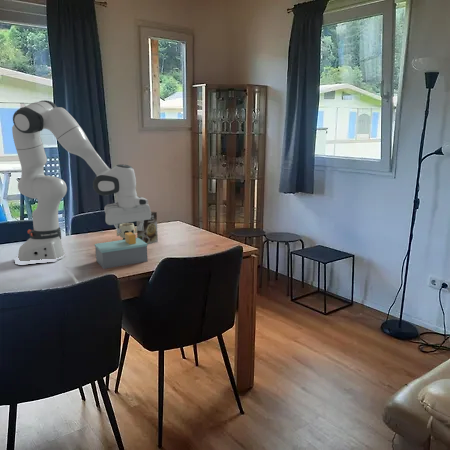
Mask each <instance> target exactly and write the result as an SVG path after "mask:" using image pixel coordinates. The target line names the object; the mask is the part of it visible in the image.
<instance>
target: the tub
mask: <svg viewBox="0 0 450 450" xmlns="http://www.w3.org/2000/svg"><path fill="white" fill-rule="evenodd" d="M94 247H95V246H94ZM148 257H149V256H148V245H147V246H144V247H138V248H131V249H125V250H118V251H112V252H105V253H102V252H100V251H99V250H98V249H97V248H96V247H95V258H96V263H97V264H98V265H99V266H100V267H101V268H102V270H106V269H110V268H117V267H123V266H128V265H135V264H139V263H146V262H148Z"/></svg>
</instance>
